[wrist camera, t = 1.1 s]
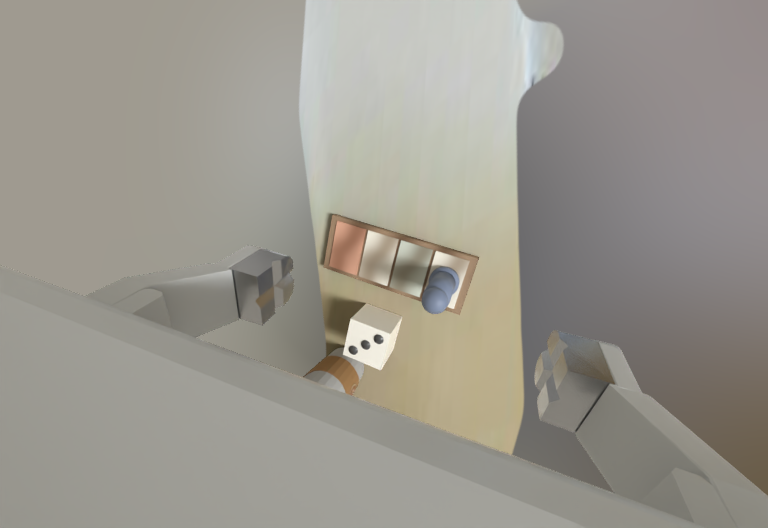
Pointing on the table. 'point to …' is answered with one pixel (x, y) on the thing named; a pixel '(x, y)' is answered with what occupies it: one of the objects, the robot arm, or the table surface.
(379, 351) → the die
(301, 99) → the table surface
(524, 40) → the table surface
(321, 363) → the coffee cup
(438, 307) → the pawn
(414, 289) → the board
